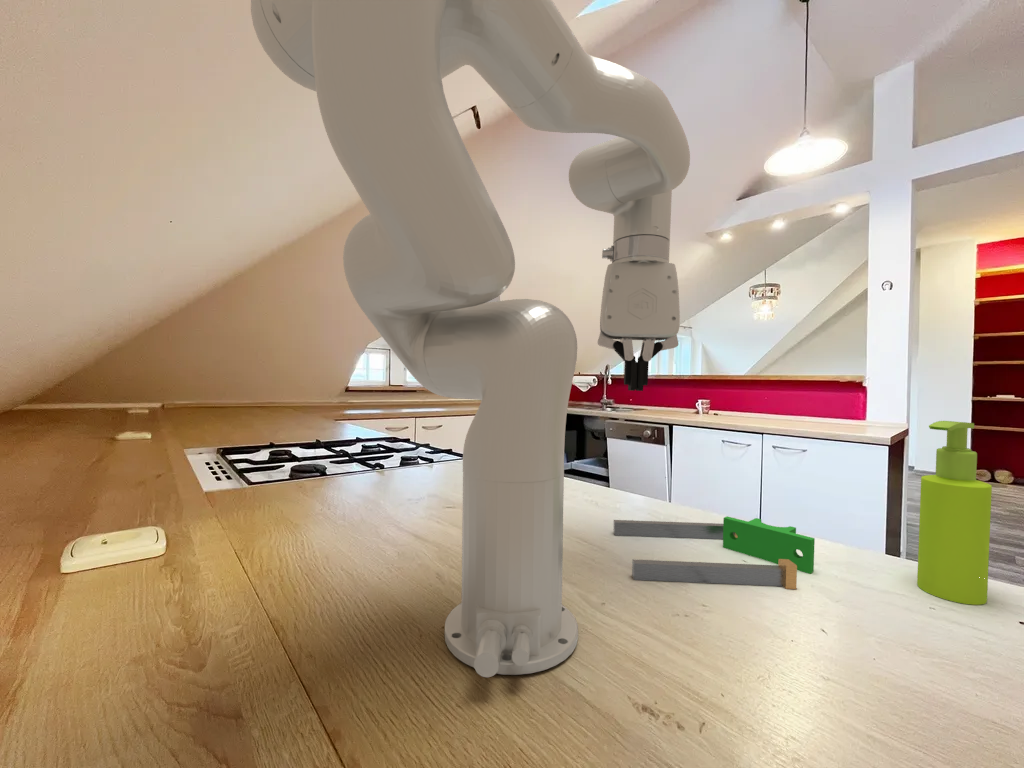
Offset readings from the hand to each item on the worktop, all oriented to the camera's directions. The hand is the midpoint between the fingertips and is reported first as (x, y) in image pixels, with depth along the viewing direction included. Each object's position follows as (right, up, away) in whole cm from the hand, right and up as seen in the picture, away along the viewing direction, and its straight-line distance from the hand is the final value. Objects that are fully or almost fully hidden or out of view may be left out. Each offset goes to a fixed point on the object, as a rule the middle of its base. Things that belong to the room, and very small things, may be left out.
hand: (635, 390), depth 63 cm
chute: (+7, -23, 0) cm, 24 cm away
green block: (+19, -23, 0) cm, 30 cm away
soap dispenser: (+34, -24, -10) cm, 42 cm away
